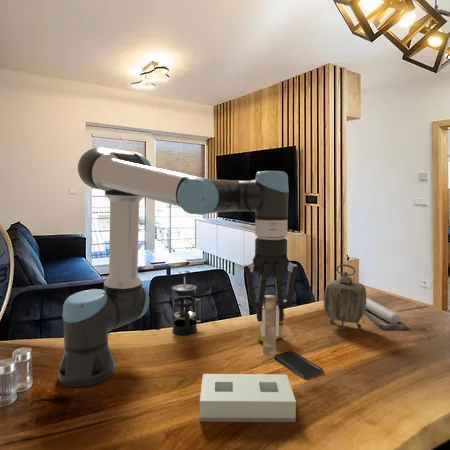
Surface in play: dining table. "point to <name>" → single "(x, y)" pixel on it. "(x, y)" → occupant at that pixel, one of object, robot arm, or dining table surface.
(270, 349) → the birch pin
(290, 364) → the phone
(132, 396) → the dining table surface
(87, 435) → the dining table surface
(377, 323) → the tube tray
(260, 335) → the chocolate bunny
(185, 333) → the french press
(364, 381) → the dining table surface
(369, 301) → the tube
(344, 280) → the tabletop clock
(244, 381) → the hole block
